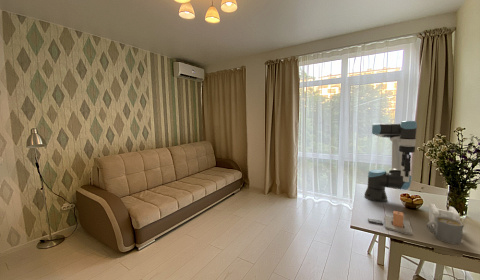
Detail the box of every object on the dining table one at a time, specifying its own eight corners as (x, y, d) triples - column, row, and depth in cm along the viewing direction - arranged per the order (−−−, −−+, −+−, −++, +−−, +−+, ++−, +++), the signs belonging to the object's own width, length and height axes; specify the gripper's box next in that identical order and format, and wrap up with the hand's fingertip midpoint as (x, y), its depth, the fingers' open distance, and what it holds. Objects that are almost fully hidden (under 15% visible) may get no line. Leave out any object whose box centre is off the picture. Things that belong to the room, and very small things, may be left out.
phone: (367, 219, 122) (367, 218, 122) (381, 222, 119) (381, 220, 119) (368, 222, 119) (368, 220, 119) (382, 225, 116) (382, 223, 116)
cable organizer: (459, 236, 104) (461, 216, 103) (432, 229, 111) (433, 210, 109) (451, 224, 116) (453, 205, 115) (427, 218, 122) (428, 201, 121)
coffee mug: (457, 236, 104) (459, 219, 103) (464, 246, 96) (466, 228, 95) (423, 229, 111) (425, 212, 110) (427, 237, 103) (429, 220, 102)
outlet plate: (384, 217, 125) (384, 215, 125) (408, 222, 118) (408, 220, 118) (385, 228, 112) (385, 226, 112) (412, 235, 105) (412, 233, 105)
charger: (392, 223, 118) (393, 210, 117) (401, 225, 115) (402, 212, 114) (393, 227, 114) (394, 213, 113) (402, 229, 111) (403, 215, 111)
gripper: (397, 143, 131) (395, 173, 133) (401, 147, 110) (398, 183, 113) (412, 143, 126) (409, 174, 128) (418, 148, 106) (415, 185, 108)
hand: (404, 178), depth 120 cm, fingers open, 13 cm apart
